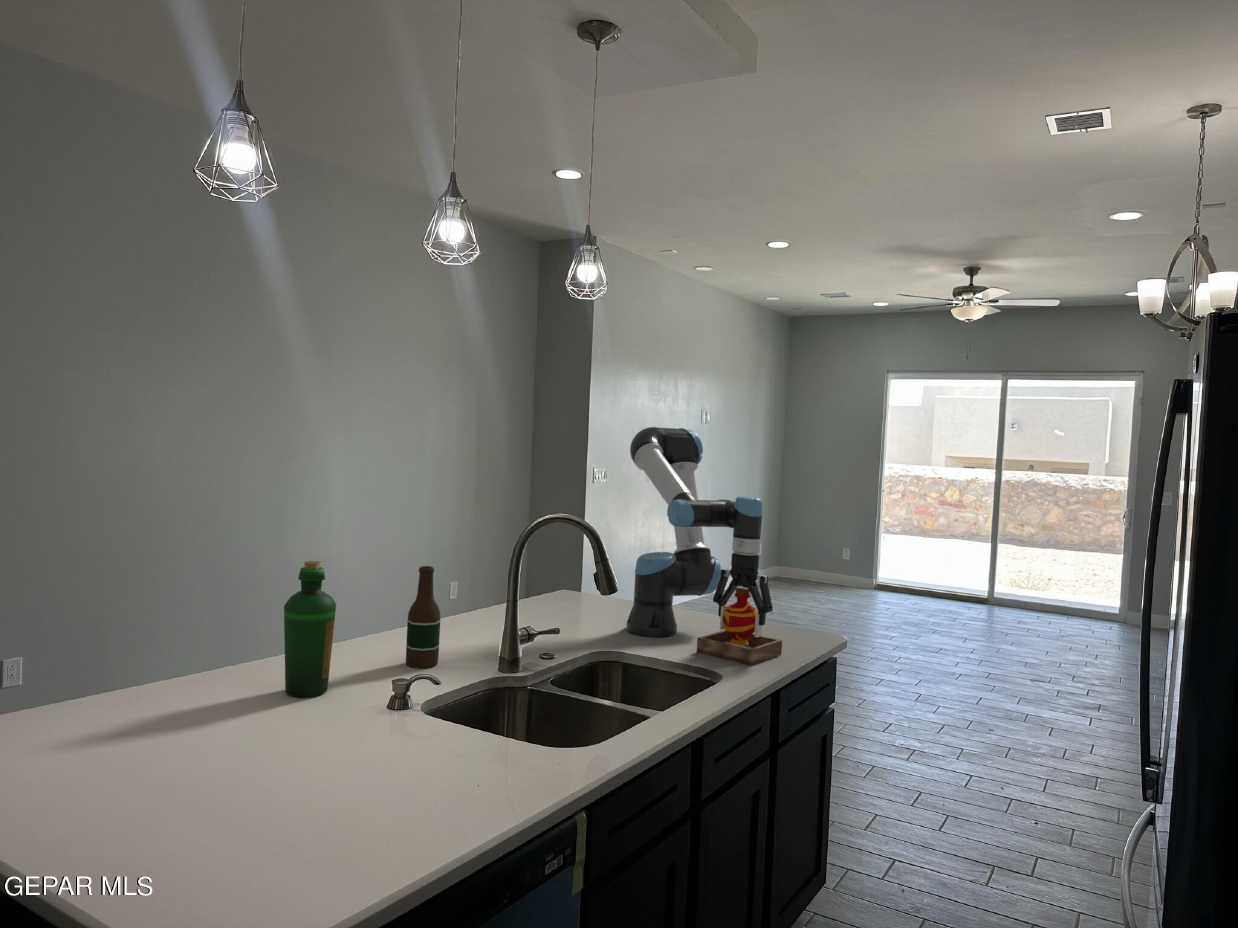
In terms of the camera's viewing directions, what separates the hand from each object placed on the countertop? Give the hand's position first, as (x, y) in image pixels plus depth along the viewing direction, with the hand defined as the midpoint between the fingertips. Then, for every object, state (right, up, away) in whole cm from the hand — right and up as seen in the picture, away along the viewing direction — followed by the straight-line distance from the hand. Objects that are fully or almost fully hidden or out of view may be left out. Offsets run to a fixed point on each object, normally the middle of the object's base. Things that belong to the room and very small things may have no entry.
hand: (740, 632), depth 237 cm
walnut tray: (0, -6, 0) cm, 6 cm away
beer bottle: (-82, -2, -28) cm, 86 cm away
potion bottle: (0, -3, 0) cm, 3 cm away
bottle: (-100, -2, -54) cm, 114 cm away
